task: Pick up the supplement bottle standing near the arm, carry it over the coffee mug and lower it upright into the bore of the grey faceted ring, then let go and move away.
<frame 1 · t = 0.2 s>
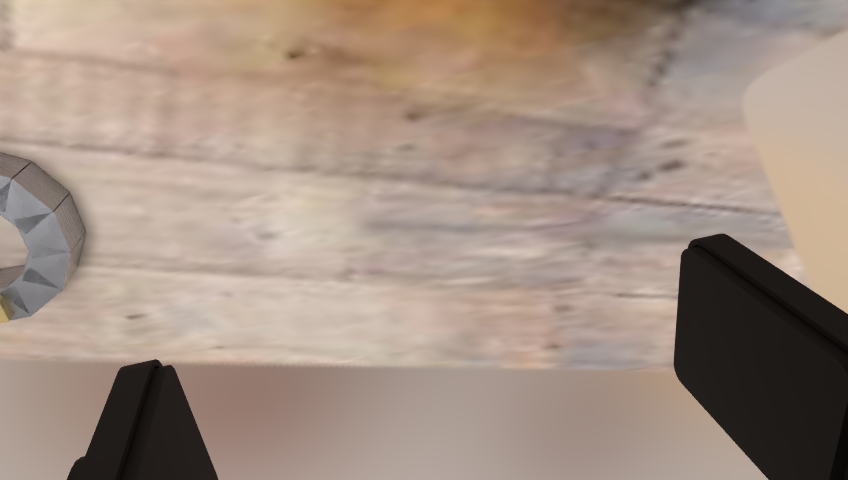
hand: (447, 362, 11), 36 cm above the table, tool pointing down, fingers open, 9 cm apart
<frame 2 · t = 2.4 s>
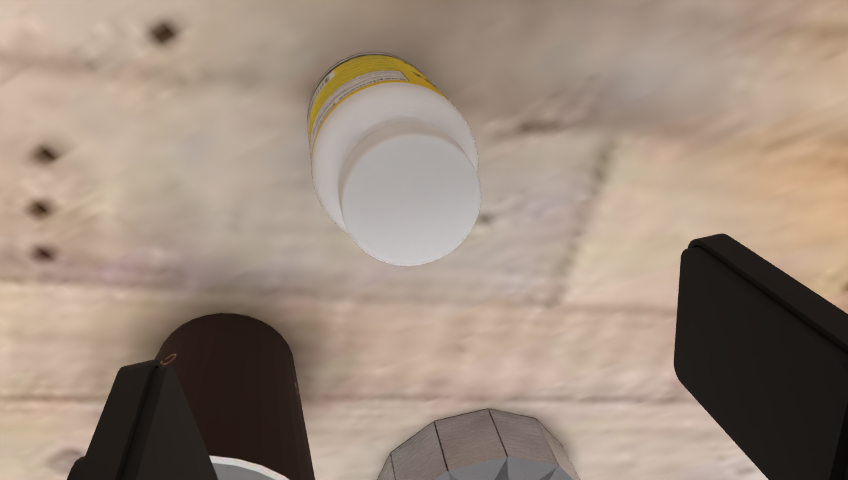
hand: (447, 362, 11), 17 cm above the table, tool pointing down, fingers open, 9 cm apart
supplement bottle: (372, 114, 26), on the table
coffee mug: (205, 385, 30), on the table
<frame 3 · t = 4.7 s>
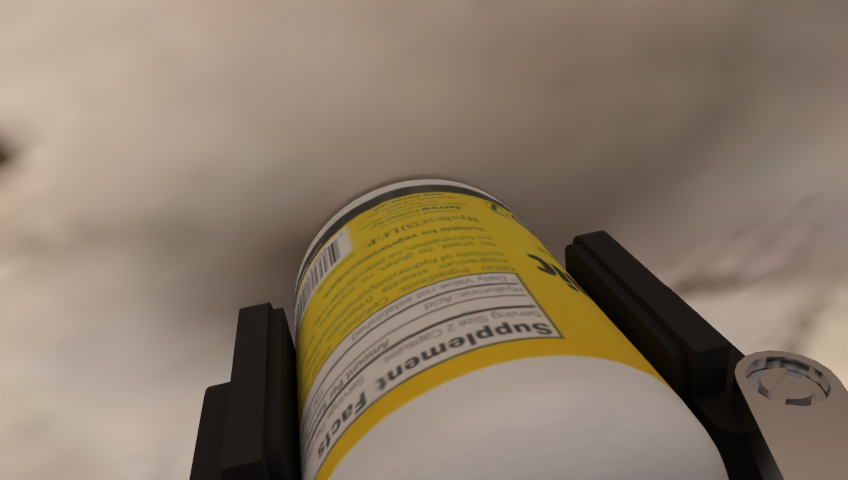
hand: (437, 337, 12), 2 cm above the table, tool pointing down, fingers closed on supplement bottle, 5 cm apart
supplement bottle: (416, 281, 14), on the table, touching gripper
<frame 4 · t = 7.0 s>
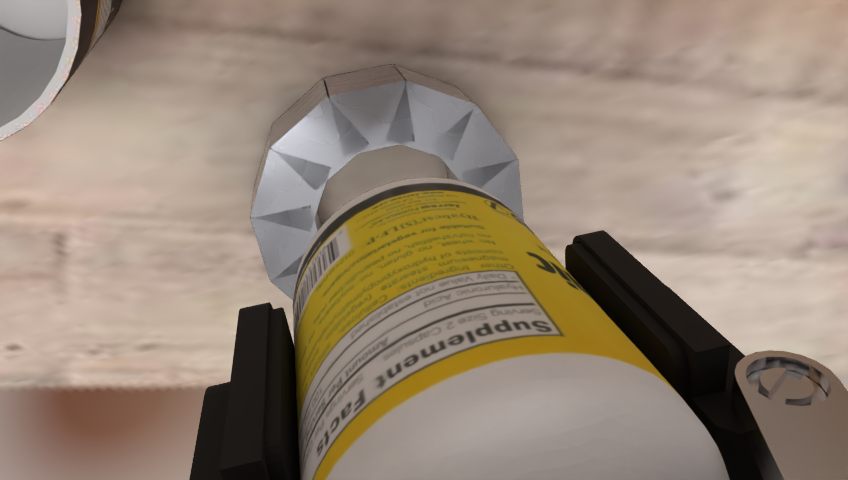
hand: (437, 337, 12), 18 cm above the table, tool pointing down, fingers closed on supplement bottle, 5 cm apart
supplement bottle: (415, 279, 14), point 16 cm above the table, touching gripper
grey faceted ring: (382, 190, 30), on the table
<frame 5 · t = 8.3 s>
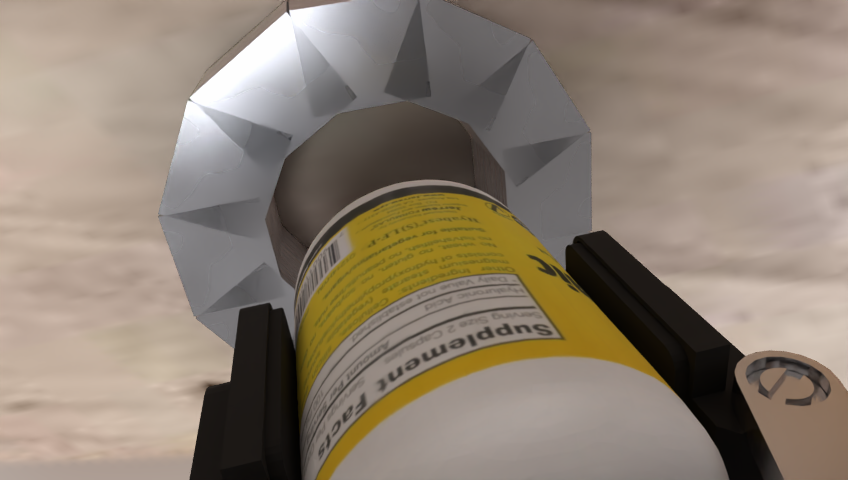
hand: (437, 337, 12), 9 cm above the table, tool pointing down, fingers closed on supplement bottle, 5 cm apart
supplement bottle: (416, 281, 14), point 7 cm above the table, touching gripper
grey faceted ring: (375, 180, 20), on the table
when the fingers open (4 cm above the table, at t = 9.4 s): supplement bottle drops 2 cm, resting in grey faceted ring.
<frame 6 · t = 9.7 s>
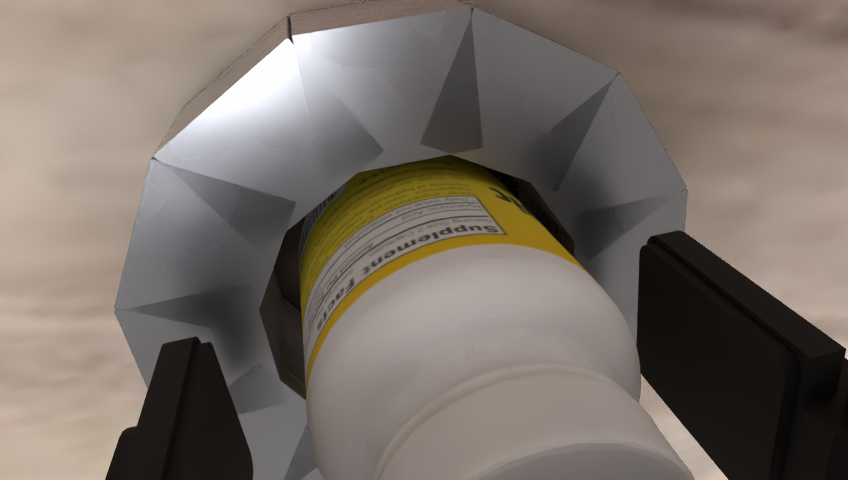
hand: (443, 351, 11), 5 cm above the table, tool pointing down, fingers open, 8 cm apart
supplement bottle: (403, 228, 16), resting in grey faceted ring
grey faceted ring: (399, 239, 16), on the table
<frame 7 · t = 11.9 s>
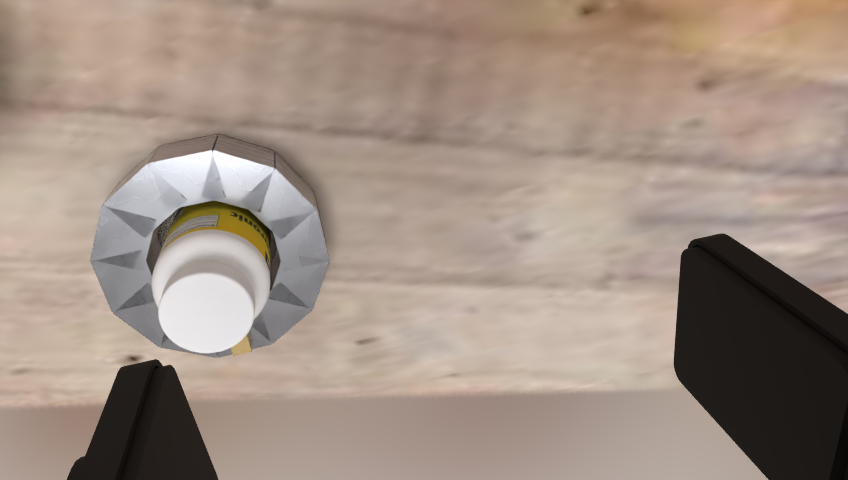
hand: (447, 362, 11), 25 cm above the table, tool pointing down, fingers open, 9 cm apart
supplement bottle: (222, 231, 36), resting in grey faceted ring
grey faceted ring: (220, 235, 35), on the table
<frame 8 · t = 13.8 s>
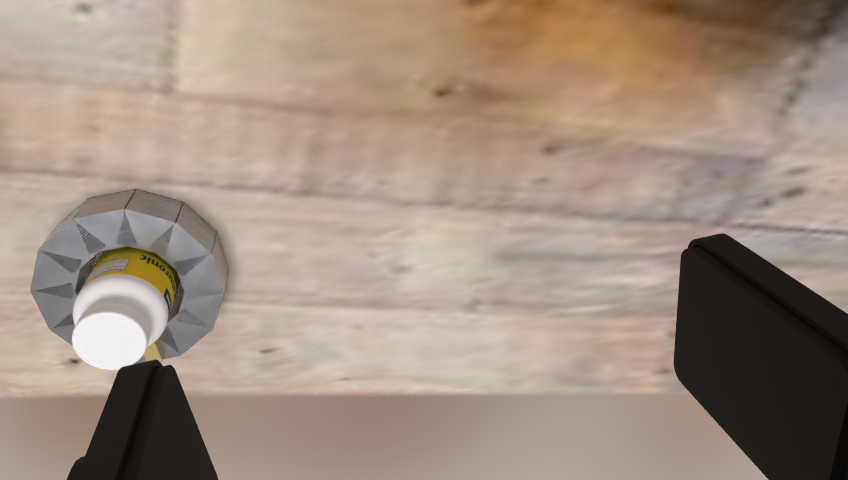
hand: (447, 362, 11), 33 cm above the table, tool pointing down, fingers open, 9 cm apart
supplement bottle: (143, 263, 44), resting in grey faceted ring
grey faceted ring: (141, 267, 44), on the table
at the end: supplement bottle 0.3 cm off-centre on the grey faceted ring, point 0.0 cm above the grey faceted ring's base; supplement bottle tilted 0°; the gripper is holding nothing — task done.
